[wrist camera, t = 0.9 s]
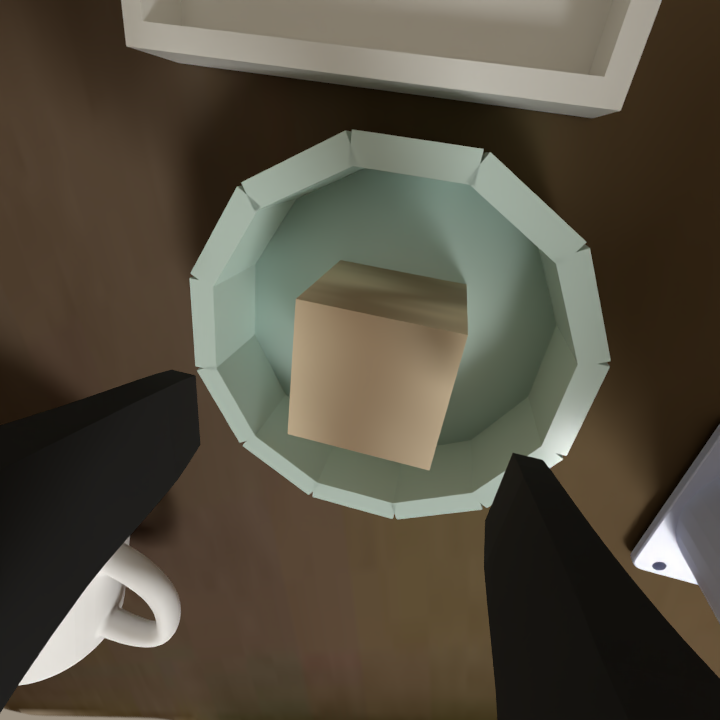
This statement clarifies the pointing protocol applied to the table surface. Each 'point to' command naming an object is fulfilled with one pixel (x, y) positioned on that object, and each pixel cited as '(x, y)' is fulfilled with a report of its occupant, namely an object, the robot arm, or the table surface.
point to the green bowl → (415, 256)
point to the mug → (111, 614)
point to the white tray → (415, 45)
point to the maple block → (376, 361)
